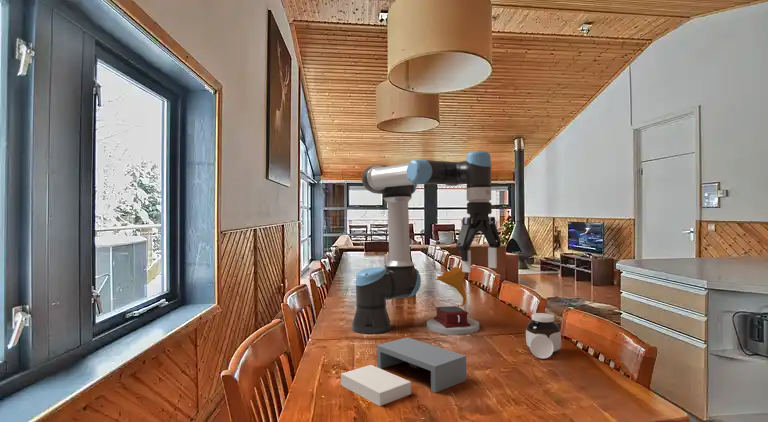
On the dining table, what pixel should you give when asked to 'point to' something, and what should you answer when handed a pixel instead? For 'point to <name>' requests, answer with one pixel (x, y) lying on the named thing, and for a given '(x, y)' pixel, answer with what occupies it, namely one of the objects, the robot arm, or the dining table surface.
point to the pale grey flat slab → (376, 384)
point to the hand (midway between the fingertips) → (480, 270)
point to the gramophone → (453, 309)
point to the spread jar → (543, 335)
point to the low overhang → (425, 361)
